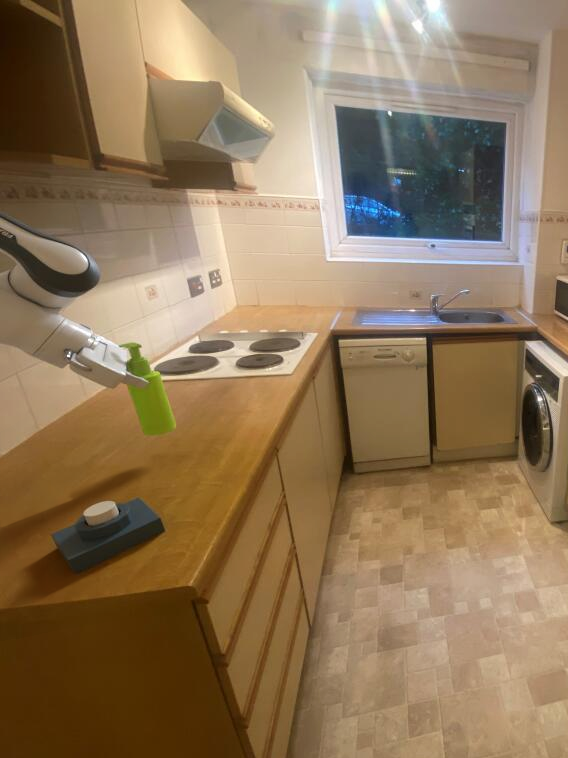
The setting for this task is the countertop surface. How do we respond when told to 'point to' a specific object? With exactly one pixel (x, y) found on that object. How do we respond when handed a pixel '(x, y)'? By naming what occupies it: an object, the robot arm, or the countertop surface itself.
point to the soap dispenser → (149, 395)
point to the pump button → (101, 513)
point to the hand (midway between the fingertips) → (146, 380)
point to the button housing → (107, 535)
